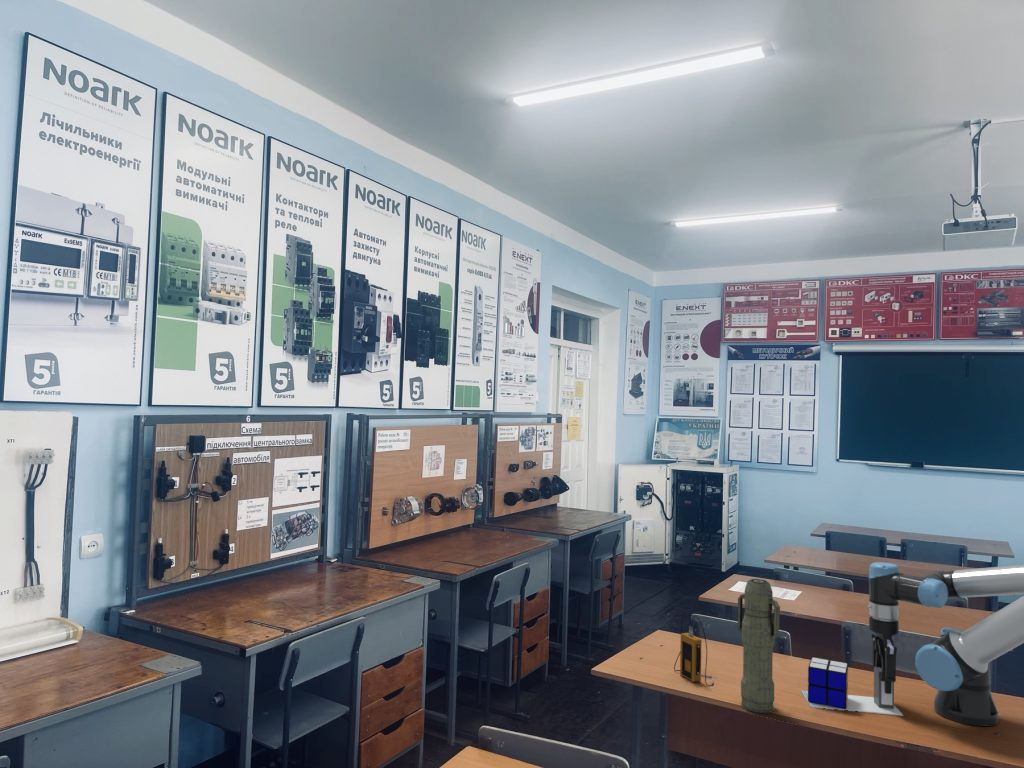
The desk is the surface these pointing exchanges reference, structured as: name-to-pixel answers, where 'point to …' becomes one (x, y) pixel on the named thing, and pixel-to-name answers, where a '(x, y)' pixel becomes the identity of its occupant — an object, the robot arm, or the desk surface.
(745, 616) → the thermos
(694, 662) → the multimeter
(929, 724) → the desk surface
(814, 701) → the puzzle cube
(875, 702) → the white flat base
